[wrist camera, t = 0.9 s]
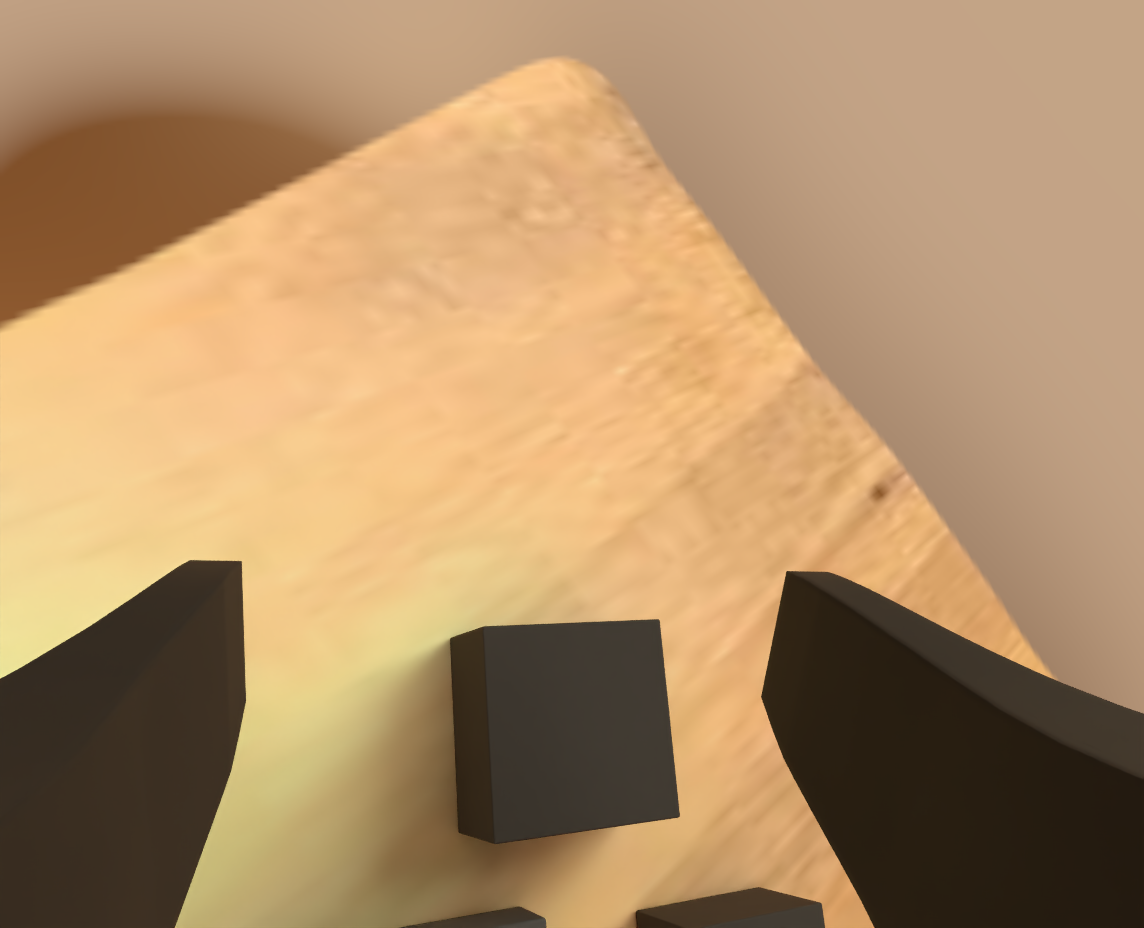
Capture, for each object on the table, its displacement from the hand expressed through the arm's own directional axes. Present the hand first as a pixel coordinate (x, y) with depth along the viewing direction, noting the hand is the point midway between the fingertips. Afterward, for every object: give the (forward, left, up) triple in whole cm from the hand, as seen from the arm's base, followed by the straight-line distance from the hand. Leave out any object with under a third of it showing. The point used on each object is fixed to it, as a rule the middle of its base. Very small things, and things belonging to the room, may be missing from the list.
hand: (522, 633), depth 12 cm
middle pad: (-1, -6, -16) cm, 17 cm away
